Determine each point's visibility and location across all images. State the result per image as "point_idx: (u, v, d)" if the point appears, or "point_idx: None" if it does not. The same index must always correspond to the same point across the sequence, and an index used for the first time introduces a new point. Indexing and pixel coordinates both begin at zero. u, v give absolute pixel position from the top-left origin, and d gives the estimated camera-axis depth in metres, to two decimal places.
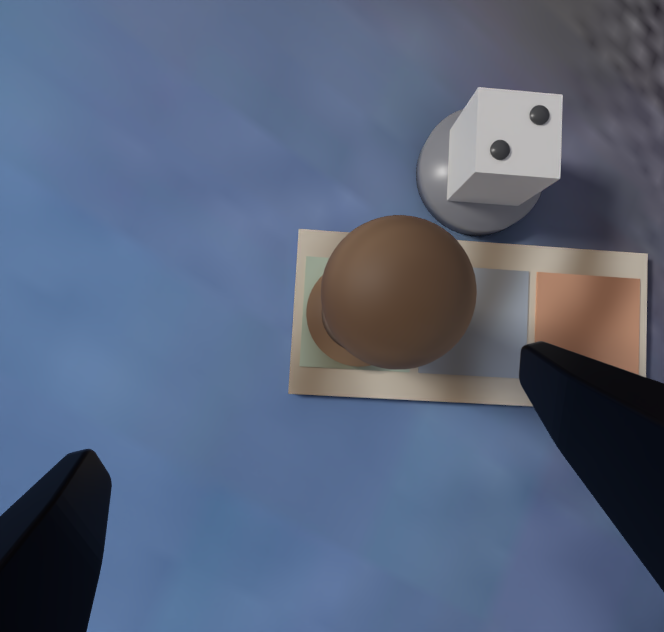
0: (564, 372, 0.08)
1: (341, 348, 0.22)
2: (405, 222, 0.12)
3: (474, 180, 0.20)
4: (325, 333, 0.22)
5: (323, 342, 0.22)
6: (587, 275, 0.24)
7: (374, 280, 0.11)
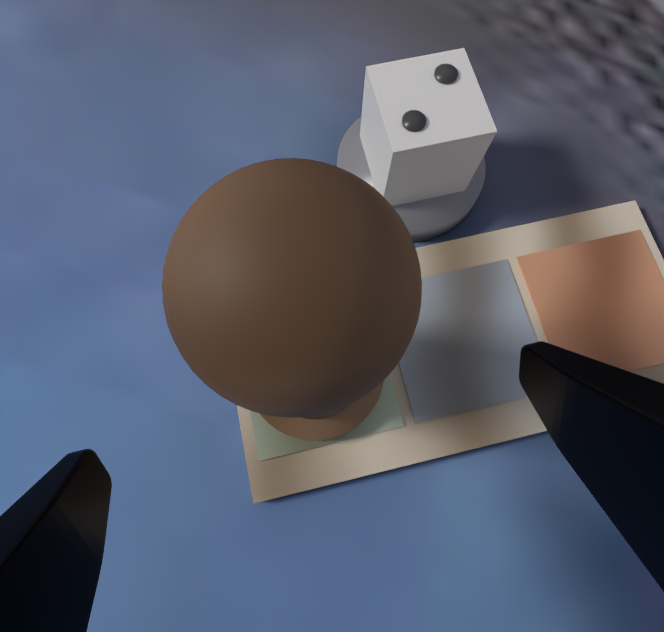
0: (564, 372, 0.08)
1: (304, 420, 0.17)
2: (257, 163, 0.07)
3: (398, 166, 0.17)
4: None
5: (278, 418, 0.17)
6: (577, 243, 0.20)
7: (211, 255, 0.06)
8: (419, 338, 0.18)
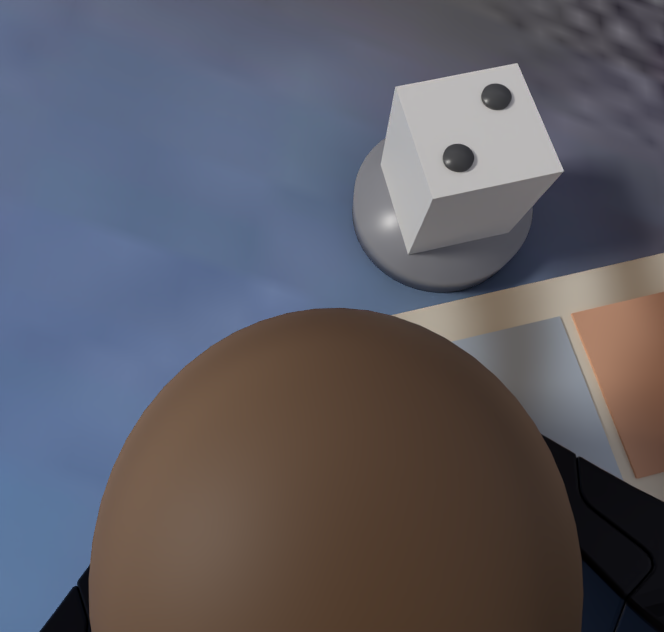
0: None
1: None
2: (271, 341, 0.04)
3: (436, 213, 0.13)
4: None
5: None
6: (643, 296, 0.16)
7: (173, 629, 0.03)
8: None
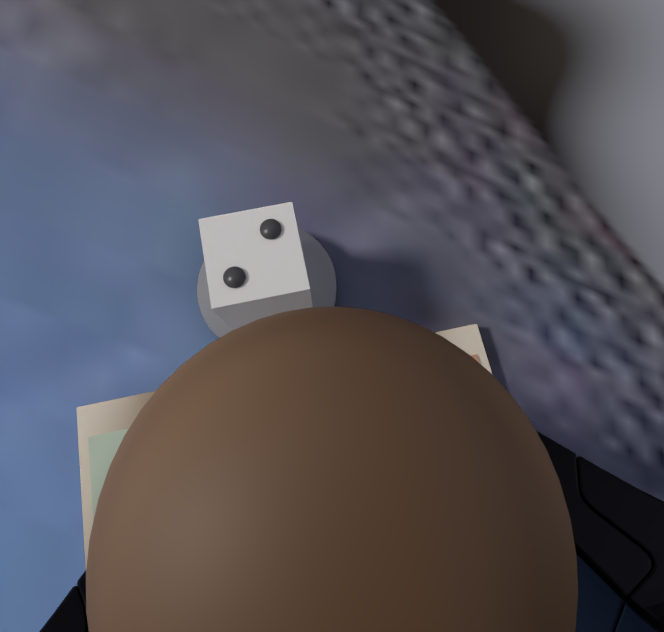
0: None
1: None
2: (267, 339, 0.04)
3: (225, 313, 0.18)
4: None
5: None
6: None
7: (168, 625, 0.03)
8: None
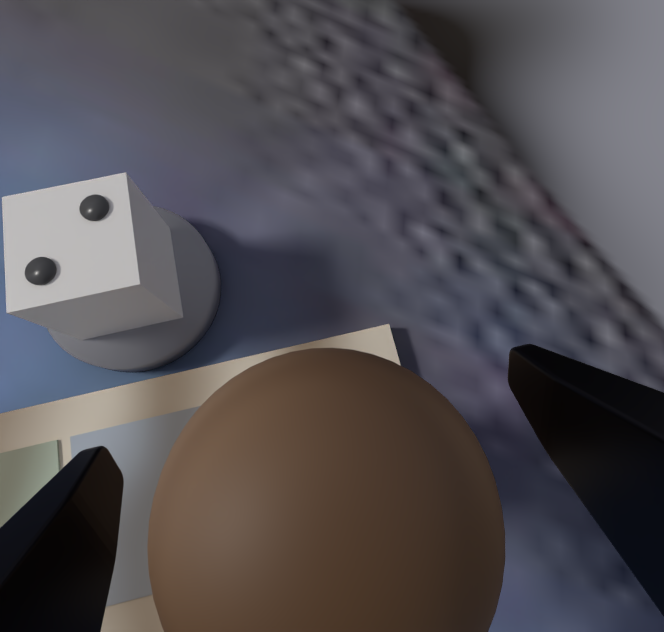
0: (551, 375, 0.08)
1: None
2: (278, 381, 0.05)
3: (39, 318, 0.14)
4: None
5: None
6: None
7: (215, 580, 0.04)
8: None
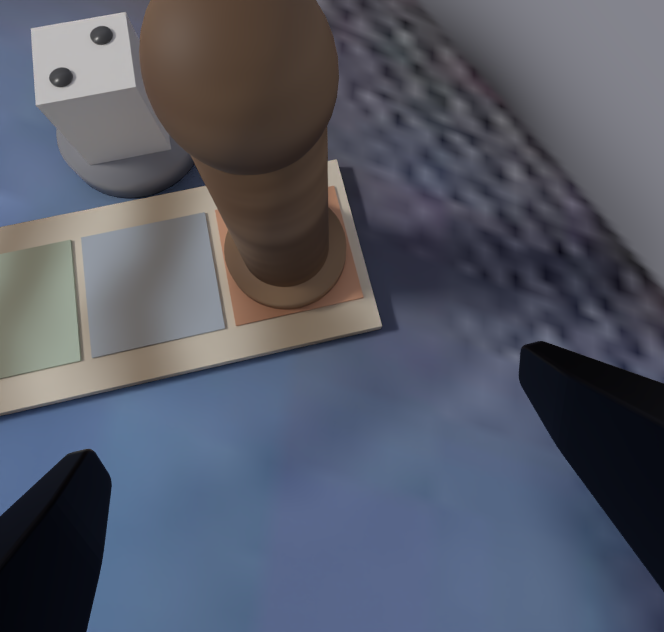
0: (564, 372, 0.08)
1: (275, 287, 0.19)
2: None
3: (59, 120, 0.18)
4: (252, 277, 0.19)
5: (253, 286, 0.19)
6: None
7: None
8: (110, 283, 0.20)
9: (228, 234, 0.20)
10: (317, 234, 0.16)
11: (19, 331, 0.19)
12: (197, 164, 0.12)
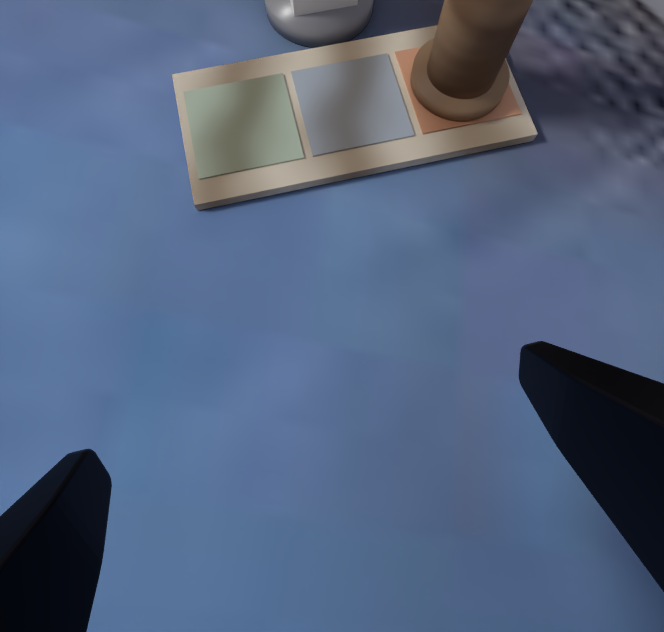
0: (564, 372, 0.08)
1: (458, 99, 0.24)
2: None
3: None
4: (439, 92, 0.24)
5: (440, 99, 0.24)
6: None
7: None
8: (319, 103, 0.25)
9: (414, 62, 0.25)
10: (517, 31, 0.21)
11: (252, 138, 0.25)
12: None
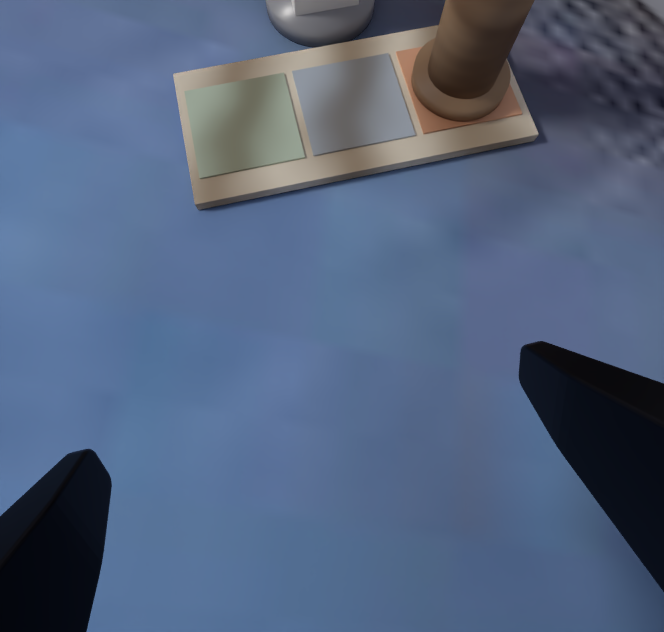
0: (564, 372, 0.08)
1: (459, 99, 0.24)
2: None
3: None
4: (440, 92, 0.24)
5: (441, 99, 0.24)
6: None
7: None
8: (320, 103, 0.25)
9: (415, 62, 0.25)
10: (518, 31, 0.21)
11: (253, 137, 0.25)
12: None
